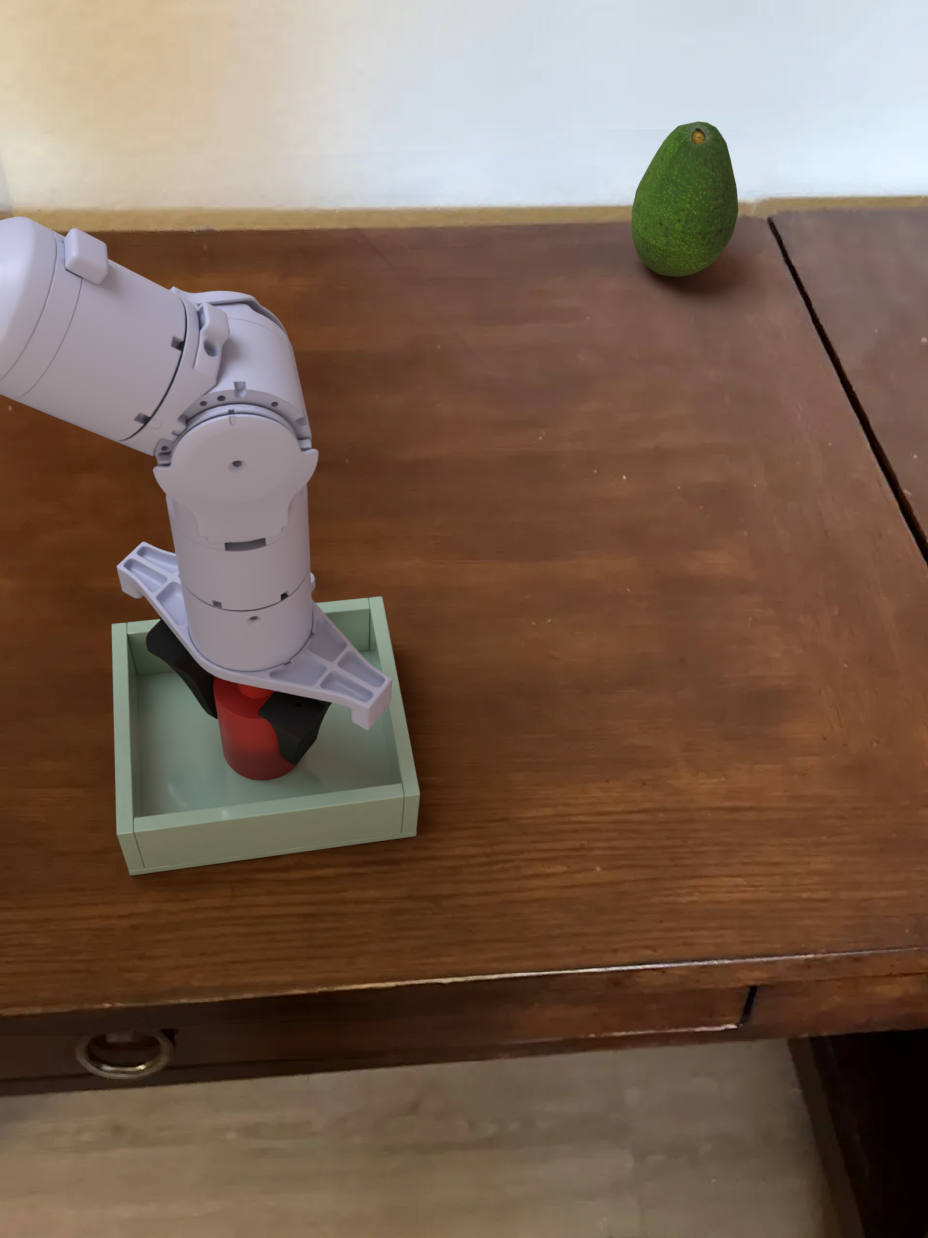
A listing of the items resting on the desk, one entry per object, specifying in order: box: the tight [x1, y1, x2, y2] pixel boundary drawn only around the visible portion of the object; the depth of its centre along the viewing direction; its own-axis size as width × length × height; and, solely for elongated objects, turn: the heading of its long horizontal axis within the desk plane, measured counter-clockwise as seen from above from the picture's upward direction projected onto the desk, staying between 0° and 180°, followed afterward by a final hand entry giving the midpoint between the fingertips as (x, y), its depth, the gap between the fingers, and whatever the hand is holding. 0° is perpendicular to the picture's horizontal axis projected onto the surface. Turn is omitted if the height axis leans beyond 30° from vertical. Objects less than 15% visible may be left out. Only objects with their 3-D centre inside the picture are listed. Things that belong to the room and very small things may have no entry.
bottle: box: [213, 676, 301, 780], centre depth 62 cm, size 4×4×8 cm
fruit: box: [630, 120, 740, 278], centre depth 90 cm, size 8×8×12 cm
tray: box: [111, 595, 421, 876], centre depth 64 cm, size 15×13×4 cm
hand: (262, 726), depth 64 cm, fingers closed on bottle, 4 cm apart
